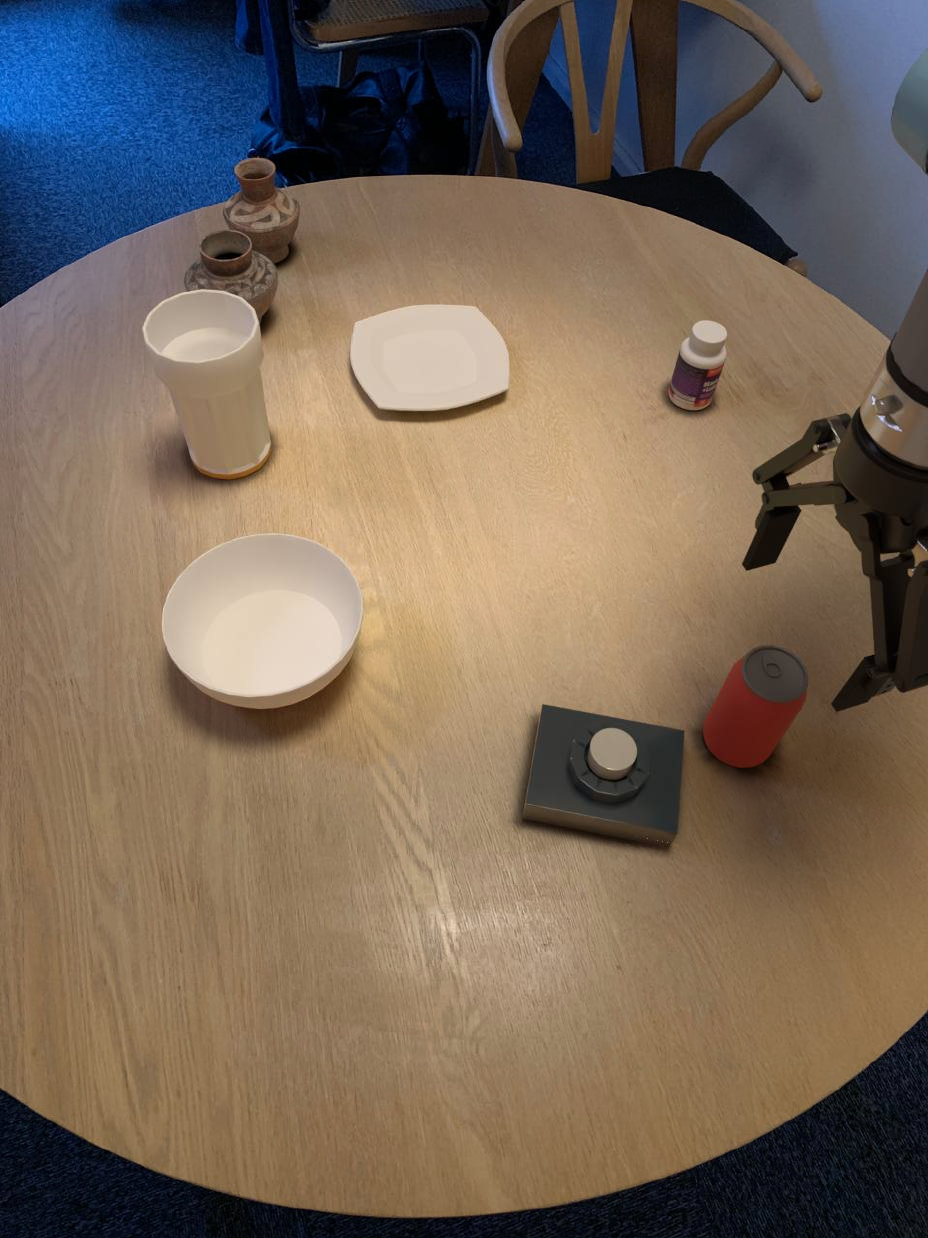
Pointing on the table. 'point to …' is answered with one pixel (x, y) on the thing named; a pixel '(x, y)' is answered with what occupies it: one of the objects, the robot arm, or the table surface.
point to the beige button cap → (611, 754)
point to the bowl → (263, 620)
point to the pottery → (248, 239)
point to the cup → (213, 378)
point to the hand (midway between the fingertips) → (801, 630)
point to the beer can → (756, 706)
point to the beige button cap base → (597, 804)
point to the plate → (429, 358)
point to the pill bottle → (699, 366)
